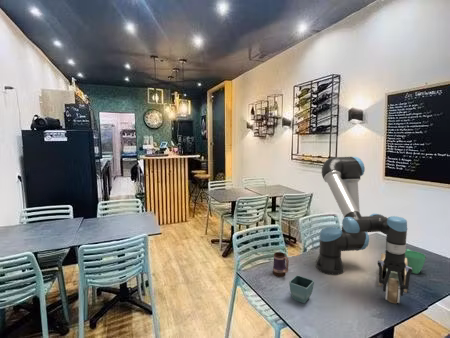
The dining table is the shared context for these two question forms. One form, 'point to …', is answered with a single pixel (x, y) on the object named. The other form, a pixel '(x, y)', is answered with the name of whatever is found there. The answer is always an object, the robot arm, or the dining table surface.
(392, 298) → the tethered block
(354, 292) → the dining table surface
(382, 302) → the dining table surface
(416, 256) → the mug
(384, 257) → the tan wooden arch
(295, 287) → the flower pot
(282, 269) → the mug
